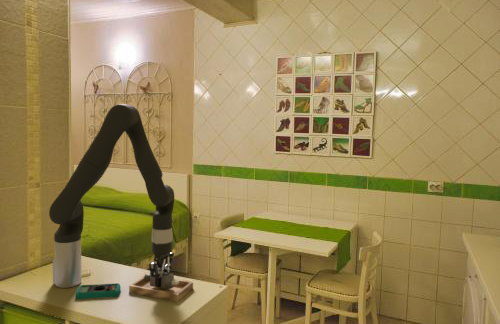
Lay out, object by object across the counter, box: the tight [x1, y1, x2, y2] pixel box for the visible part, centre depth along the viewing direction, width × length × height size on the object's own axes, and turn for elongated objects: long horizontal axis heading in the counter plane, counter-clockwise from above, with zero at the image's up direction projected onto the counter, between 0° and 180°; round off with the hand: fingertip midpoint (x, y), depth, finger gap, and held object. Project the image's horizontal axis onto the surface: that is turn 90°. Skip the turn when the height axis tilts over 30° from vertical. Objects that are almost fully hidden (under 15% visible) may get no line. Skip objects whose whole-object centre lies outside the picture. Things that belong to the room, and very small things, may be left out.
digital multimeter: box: [75, 282, 121, 300], centre depth 143 cm, size 7×15×3 cm, turn 102°
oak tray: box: [128, 273, 194, 303], centre depth 147 cm, size 20×12×3 cm, turn 71°
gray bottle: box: [143, 271, 180, 289], centre depth 147 cm, size 14×4×4 cm, turn 71°
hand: (161, 283), depth 147 cm, fingers closed on gray bottle, 4 cm apart
